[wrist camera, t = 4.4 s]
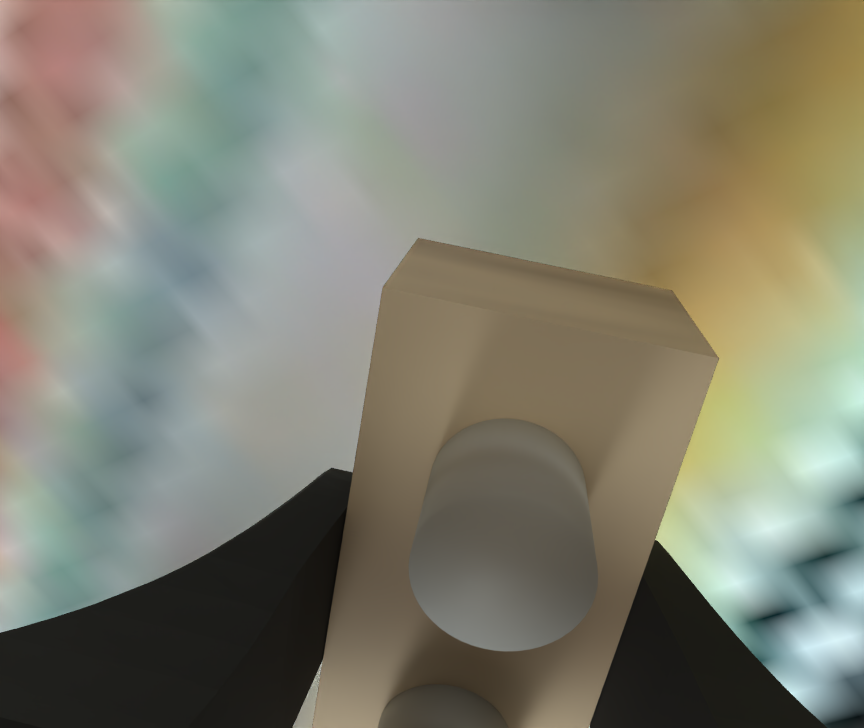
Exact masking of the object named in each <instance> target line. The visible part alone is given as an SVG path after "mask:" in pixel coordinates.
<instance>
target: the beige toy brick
mask: <svg viewBox="0 0 864 728" xmlns="http://www.w3.org/2000/svg"><path fill="white" fill-rule="evenodd" d="M718 360H719V357H718V356H717V355H716V353H715V352H714V350H713V349H712V347H711V346H710V344H709V343H708V342H707V340H706V339H705V337H704V336H703V334H702V333H701V331H700V330H699V329H698V327H697V326H696V324H695V323H694V321H693V320H692V318H691V317H690V316H689V314H688V313H687V311H686V310H685V308H684V307H683V305H682V304H681V303H680V301H679V300H678V298H677V297H676V295H675V294H674V292H673V291H672V290H667V289H662V288H657V287H653V286H648V285H643V284H638V283H633V282H628V281H624V280H619V279H614V278H609V277H604V276H599V275H595V274H590V273H585V272H580V271H575V270H570V269H566V268H561V267H556V266H551V265H546V264H541V263H537V262H532V261H527V260H522V259H517V258H513V257H508V256H503V255H498V254H493V253H488V252H484V251H479V250H474V249H469V248H464V247H459V246H455V245H450V244H445V243H440V242H435V241H430V240H426V239H421V238H418V239H417V240H416V242H415V243H414V245H413V246H412V247H411V249H410V250H409V251H408V253H407V254H406V256H405V257H404V258H403V260H402V261H401V263H400V264H399V265H398V267H397V268H396V270H395V271H394V272H393V274H392V275H391V277H390V278H389V279H388V281H387V282H386V283H385V285H384V286H383V289H382V295H381V301H380V307H379V314H378V320H377V326H376V332H375V339H374V345H373V351H372V357H371V363H370V370H369V376H368V382H367V388H366V395H365V401H364V407H363V413H362V419H361V426H360V432H359V438H358V444H357V451H356V457H355V463H354V469H353V475H352V482H351V488H350V494H349V500H348V507H347V513H346V519H345V525H344V531H343V538H342V544H341V550H340V556H339V562H338V569H337V575H336V581H335V587H334V594H333V600H332V606H331V612H330V618H329V625H328V631H327V637H326V643H325V650H324V656H323V662H322V668H321V674H320V681H319V687H318V693H317V699H316V706H315V712H314V718H313V724H312V728H589V725H590V722H591V719H592V717H593V714H594V711H595V708H596V705H597V702H598V700H599V697H600V694H601V691H602V688H603V685H604V683H605V680H606V677H607V674H608V671H609V668H610V666H611V663H612V660H613V657H614V654H615V651H616V649H617V646H618V643H619V640H620V637H621V634H622V632H623V629H624V626H625V623H626V620H627V617H628V615H629V612H630V609H631V606H632V603H633V600H634V598H635V595H636V592H637V589H638V586H639V584H640V581H641V578H642V575H643V572H644V569H645V567H646V564H647V561H648V558H649V555H650V552H651V550H652V547H653V544H654V541H655V538H656V535H657V533H658V530H659V527H660V524H661V521H662V518H663V516H664V513H665V510H666V507H667V504H668V501H669V499H670V496H671V493H672V490H673V487H674V484H675V482H676V479H677V476H678V473H679V470H680V467H681V465H682V462H683V459H684V456H685V453H686V450H687V448H688V445H689V442H690V439H691V436H692V433H693V431H694V428H695V425H696V422H697V419H698V416H699V414H700V411H701V408H702V405H703V402H704V400H705V397H706V394H707V391H708V388H709V385H710V383H711V380H712V377H713V374H714V371H715V368H716V366H717V363H718Z"/></svg>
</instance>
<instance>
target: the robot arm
mask: <svg viewBox="0 0 864 728" xmlns="http://www.w3.org/2000/svg"><path fill="white" fill-rule="evenodd" d="M352 475H353V473H352V472H348V471H343V470H339V469H334V468H331V469H329V470H327V471H326V472H324V473H323V474H321V475H320V476H319V477H318V478H316V479H315V480H314V481H313V482H311V483H310V484H309V485H308V486H306V487H305V488H304V489H303V490H301V491H300V492H299V493H297V494H296V495H295V496H293V497H292V498H291V499H290V500H288V501H287V502H286V503H284V504H283V505H281V506H280V507H279V508H277V509H276V510H274V511H273V512H272V513H270V514H269V515H267V516H266V517H265V518H263V519H262V520H260V521H259V522H257V523H256V524H255V525H253V526H252V527H250V528H249V529H247V530H245V531H244V532H242V533H241V534H239V535H237V536H236V537H234V538H233V539H231V540H229V541H228V542H226V543H224V544H223V545H221V546H220V547H218V548H216V549H215V550H213V551H211V552H210V553H208V554H206V555H204V556H202V557H201V558H199V559H197V560H195V561H193V562H192V563H190V564H188V565H186V566H184V567H182V568H180V569H177V570H175V571H173V572H171V573H169V574H167V575H165V576H163V577H161V578H159V579H156V580H154V581H152V582H150V583H147V584H144V585H142V586H139V587H137V588H134V589H132V590H129V591H127V592H124V593H122V594H119V595H117V596H114V597H112V598H109V599H107V600H104V601H101V602H99V603H96V604H94V605H91V606H88V607H85V608H82V609H79V610H76V611H73V612H70V613H67V614H64V615H61V616H58V617H55V618H51V619H48V620H44V621H41V622H37V623H34V624H31V625H27V626H24V627H20V628H17V629H13V630H9V631H5V632H1V633H0V728H292V727H293V725H294V722H295V720H296V718H297V716H298V714H299V711H300V709H301V707H302V705H303V702H304V700H305V698H306V696H307V693H308V691H309V689H310V687H311V684H312V682H313V680H314V678H315V675H316V673H317V671H318V669H319V666H320V664H321V662H322V660H323V656H324V650H325V643H326V637H327V631H328V625H329V618H330V612H331V606H332V600H333V594H334V587H335V581H336V575H337V569H338V562H339V556H340V550H341V544H342V538H343V531H344V525H345V519H346V513H347V507H348V500H349V494H350V488H351V482H352ZM590 728H827V727H826V726H825V725H824V724H822V723H821V722H820V721H819V720H818V719H817V718H816V717H815V716H814V715H813V714H812V713H811V712H809V711H808V710H807V709H806V708H805V707H804V706H803V705H802V704H801V703H800V702H799V701H798V700H797V699H796V698H795V697H794V696H793V695H792V694H791V693H790V692H789V691H788V690H787V689H786V688H785V687H784V686H783V685H782V684H781V683H780V682H779V681H778V680H777V679H776V678H775V677H774V676H773V675H772V674H771V673H770V672H769V671H768V669H767V668H766V667H765V666H764V665H763V664H762V663H761V662H760V661H759V660H758V659H757V658H756V657H755V656H754V655H753V654H752V653H751V651H750V650H749V649H748V648H747V647H746V646H745V645H744V644H743V642H742V641H741V640H740V639H739V638H738V637H737V636H736V635H735V633H734V632H733V631H732V630H731V629H730V628H729V626H728V625H727V624H726V623H725V622H724V621H723V619H722V618H721V617H720V616H719V615H718V613H717V612H716V611H715V610H714V609H713V607H712V606H711V605H710V604H709V603H708V601H707V600H706V599H705V598H704V597H703V595H702V594H701V593H700V592H699V590H698V589H697V588H696V587H695V585H694V584H693V583H692V582H691V580H690V579H689V578H688V577H687V576H686V574H685V573H684V572H683V571H682V569H681V568H680V567H679V566H678V564H677V563H676V562H675V561H674V559H673V558H672V557H671V556H670V555H669V553H668V552H667V551H666V550H665V549H664V548H663V546H662V545H661V544H660V543H659V542H658V541H656V540H655V541H654V544H653V547H652V550H651V552H650V555H649V558H648V561H647V564H646V567H645V569H644V572H643V575H642V578H641V581H640V584H639V586H638V589H637V592H636V595H635V598H634V600H633V603H632V606H631V609H630V612H629V615H628V617H627V620H626V623H625V626H624V629H623V632H622V634H621V637H620V640H619V643H618V646H617V649H616V651H615V654H614V657H613V660H612V663H611V666H610V668H609V671H608V674H607V677H606V680H605V683H604V685H603V688H602V691H601V694H600V697H599V700H598V702H597V705H596V708H595V711H594V714H593V717H592V719H591V722H590Z"/></svg>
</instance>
